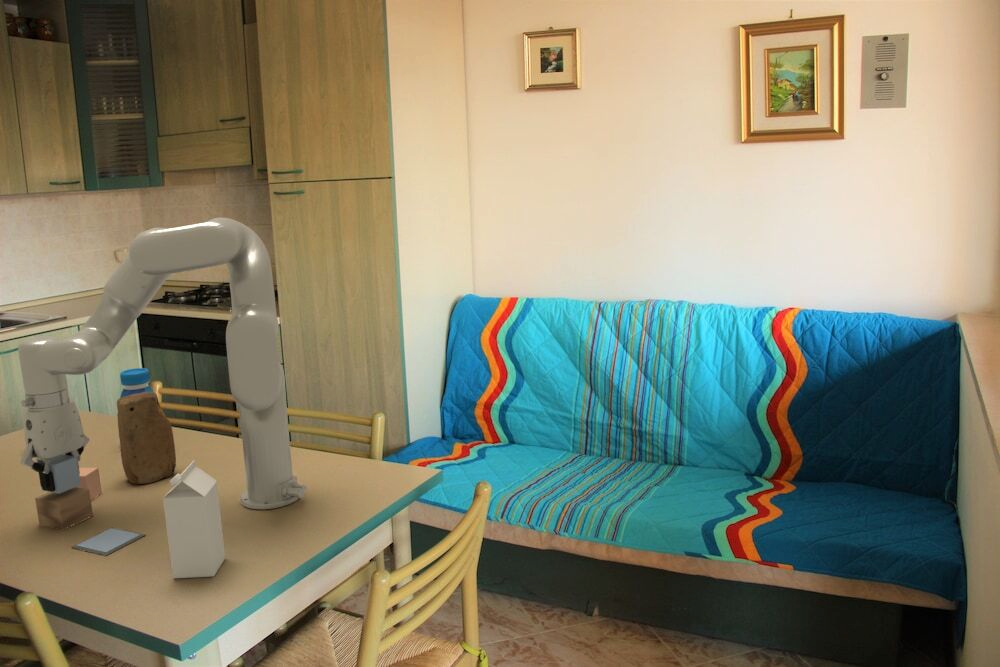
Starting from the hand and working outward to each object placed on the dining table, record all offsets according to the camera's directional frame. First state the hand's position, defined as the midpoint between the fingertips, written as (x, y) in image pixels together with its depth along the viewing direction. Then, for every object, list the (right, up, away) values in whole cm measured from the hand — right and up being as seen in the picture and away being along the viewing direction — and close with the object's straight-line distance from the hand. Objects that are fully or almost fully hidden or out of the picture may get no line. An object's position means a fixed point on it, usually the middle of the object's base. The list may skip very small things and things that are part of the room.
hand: (61, 484), depth 170 cm
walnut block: (0, -8, +2) cm, 8 cm away
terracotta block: (-2, -5, +13) cm, 15 cm away
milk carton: (+36, -11, -21) cm, 43 cm away
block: (+8, -3, +24) cm, 25 cm away
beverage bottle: (-3, +1, +46) cm, 46 cm away
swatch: (+14, -9, -9) cm, 19 cm away
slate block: (0, -1, 0) cm, 1 cm away
